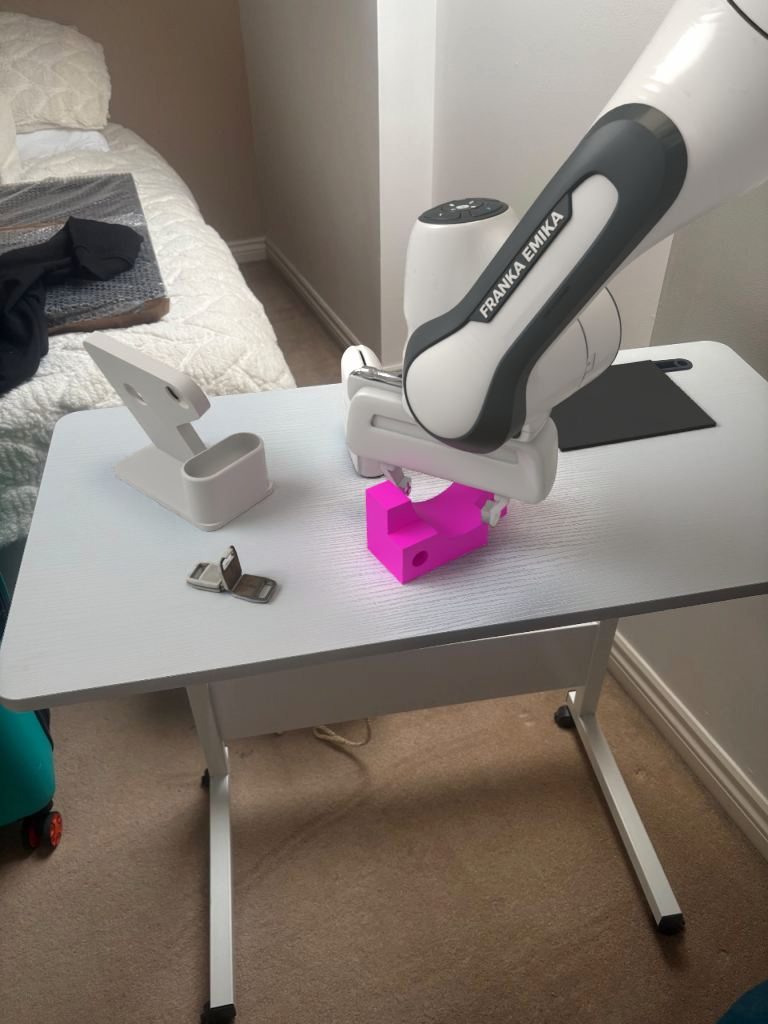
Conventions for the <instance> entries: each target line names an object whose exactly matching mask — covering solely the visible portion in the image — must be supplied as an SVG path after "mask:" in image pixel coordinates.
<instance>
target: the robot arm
mask: <svg viewBox="0 0 768 1024" xmlns="http://www.w3.org/2000/svg"><path fill="white" fill-rule="evenodd" d="M767 181H768V0H675V1H674V3H673V4H672V6H671V7H670V9H669V10H668V12H667V13H666V15H665V17H664V19H663V20H662V21H661V23H660V24H659V26H658V27H657V29H656V30H655V31H654V33H653V35H652V37H651V38H650V39H649V41H648V43H647V44H646V46H645V47H644V48H643V50H642V52H641V53H640V55H639V56H638V58H637V60H636V61H635V63H634V64H633V66H632V67H631V69H630V70H629V72H628V73H627V75H626V76H625V78H623V81H622V82H621V83H620V85H619V86H618V87H617V89H616V91H615V92H614V93H613V94H612V96H611V97H610V99H609V100H608V102H607V103H606V104H605V105H604V107H603V108H602V110H601V111H600V112H599V114H598V115H597V116H596V118H595V120H593V122H592V124H591V125H590V127H589V128H588V130H587V131H586V133H585V134H584V136H583V137H582V139H581V140H580V141H579V143H578V144H577V146H575V148H574V150H573V151H572V152H571V154H570V155H569V156H568V158H566V160H564V162H563V164H562V165H561V166H560V167H559V168H558V170H557V171H556V172H555V174H554V175H553V176H552V177H551V178H550V180H549V181H548V183H547V184H546V185H545V187H544V188H543V189H542V191H540V193H539V195H538V196H537V197H536V198H535V200H534V201H533V203H532V204H531V206H530V207H529V208H528V210H527V211H526V212H525V214H523V217H522V218H521V219H520V220H519V218H518V216H517V213H516V211H515V210H514V209H513V207H511V205H509V204H507V203H506V202H504V201H501V200H499V199H496V198H490V197H466V198H462V199H452V200H450V201H446V202H444V203H440V204H438V205H436V206H434V207H431V208H429V209H427V210H425V211H423V212H422V213H421V214H420V215H418V217H417V218H416V220H415V221H414V223H413V226H412V227H411V231H410V235H409V237H408V243H407V248H406V254H405V265H404V275H403V307H402V308H403V315H404V319H405V323H406V326H407V335H406V338H405V339H406V340H405V342H404V345H403V349H402V350H403V351H402V368H401V369H402V370H401V372H402V373H401V372H397V371H391V370H384V369H383V370H380V369H377V368H375V367H372V366H362V368H360V369H355V370H353V371H352V372H351V373H350V374H349V376H348V380H347V391H348V397H349V399H350V401H351V403H350V407H349V412H348V419H347V429H346V436H345V443H346V445H347V448H348V447H349V448H350V450H351V451H352V452H353V453H354V454H355V455H358V456H362V457H366V458H369V459H373V460H376V461H380V462H381V470H382V471H383V473H384V474H383V475H384V476H385V478H386V479H387V480H390V481H391V482H392V483H393V484H394V485H395V486H396V487H398V488H399V489H400V490H401V491H402V492H403V493H404V494H405V495H406V496H408V497H409V496H410V495H411V492H412V483H413V482H412V480H413V478H412V477H410V476H406V475H405V473H404V472H403V469H406V470H409V471H413V472H417V473H419V474H423V475H427V476H431V477H434V478H437V479H442V480H445V481H448V482H451V483H453V482H455V483H459V484H462V485H466V486H470V487H473V488H477V489H480V490H484V491H487V492H491V493H494V500H496V501H491V500H487V501H486V503H485V506H483V508H482V510H481V516H482V517H481V519H480V522H482V523H485V524H488V525H489V526H492V527H496V525H497V524H498V522H499V520H500V518H501V517H500V514H501V510H502V509H503V508H504V507H505V506H506V505H507V506H508V505H509V503H510V502H511V499H513V500H517V501H520V502H522V503H523V502H524V503H526V504H530V505H538V504H540V503H542V502H543V501H544V500H546V499H547V498H548V496H549V495H550V493H551V492H552V489H553V487H554V485H555V482H556V478H557V472H558V463H559V462H558V461H559V448H558V433H557V429H556V426H555V423H554V422H553V420H552V419H551V418H550V417H549V416H550V413H551V411H552V408H553V407H554V406H556V405H557V404H559V403H560V402H562V401H563V400H565V399H566V398H568V397H569V396H571V395H572V394H573V393H575V392H576V391H578V390H579V389H581V388H582V387H584V386H585V385H586V384H588V383H589V382H591V381H592V380H594V379H595V378H597V377H598V376H599V375H600V374H601V373H603V372H604V371H606V370H607V369H608V368H609V367H610V366H611V365H613V364H614V362H615V360H616V359H617V357H618V354H619V352H620V348H621V343H622V331H623V330H622V329H623V328H622V319H621V318H622V317H621V314H620V310H619V307H618V304H617V302H616V300H615V298H614V296H613V294H612V292H611V291H610V290H609V288H608V287H607V286H608V285H609V284H610V283H611V282H612V281H613V280H614V279H615V278H616V277H617V276H618V275H619V274H620V273H621V272H622V271H623V270H624V269H626V268H627V267H628V266H629V265H630V264H631V263H633V262H634V261H635V260H637V259H638V258H639V257H640V256H642V255H643V254H645V253H646V252H647V251H649V250H650V249H651V248H653V247H654V246H656V245H657V244H659V243H660V242H662V241H664V240H665V239H666V238H667V239H668V237H670V236H672V235H674V234H675V233H676V232H678V231H680V230H682V229H683V228H685V227H687V226H688V225H690V224H692V223H694V222H696V221H697V220H699V219H701V218H702V217H704V216H706V215H708V214H710V213H712V212H714V211H715V210H717V209H719V208H721V207H723V206H724V205H726V204H728V203H730V202H732V201H734V200H736V199H737V198H739V197H741V196H743V195H744V194H747V193H749V192H750V191H752V190H753V189H756V188H757V187H759V186H761V185H762V184H764V183H766V182H767ZM349 448H348V449H349Z"/></svg>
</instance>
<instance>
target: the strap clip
mask: <svg viewBox="0 0 768 1024" xmlns="http://www.w3.org/2000/svg"><path fill="white" fill-rule="evenodd" d="M228 558H229V559H228ZM225 560H227V561H226V563H225V564H224V565H223V563H224V562H225ZM201 570H203V572H202V573H201V574H200V576H199V577H198V579H197V578H195V577H196V576H197V574H198V572H199V571H201ZM185 580H186V581H185V582H186V584H187V585H189V586H190V587H192V588H194V589H197V590H202V591H207V592H213V593H221V591H228V592H230V593H231V594H232V597H235V598H238V599H240V600H241V599H242V600H243V601H244V600H245V601H248V602H252V603H266V602H268V601H269V599H270V597H271V596H272V594H273V592H274V590H275V589H276V587H277V585H278V582H277V581H276V580H275V579H272V578H269V577H267V576H260V575H255V574H249V573H244V574H243V569H242V566H241V562H240V559H239V555H238V552H237V550H236V547H235V546H234V545H228V547H227V548H226V549H225V551H224V552H223V553H222V555H221V556H220V558H219V559H218V561H217V562H213V561H208V560H207V561H206V560H205V561H203V560H202V561H198V562H196V563H195V565H194V566H193V567H192V569H191V570H190V571H189V573H188V575H187V576H186V577H185ZM265 584H266V585H270V588H269V589H268V591H267V593H266V595H265V596H264V597H261V596H260V597H259V596H258V595H259V594H260V592H261V590H262V589H263V587H264V585H265Z"/></svg>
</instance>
